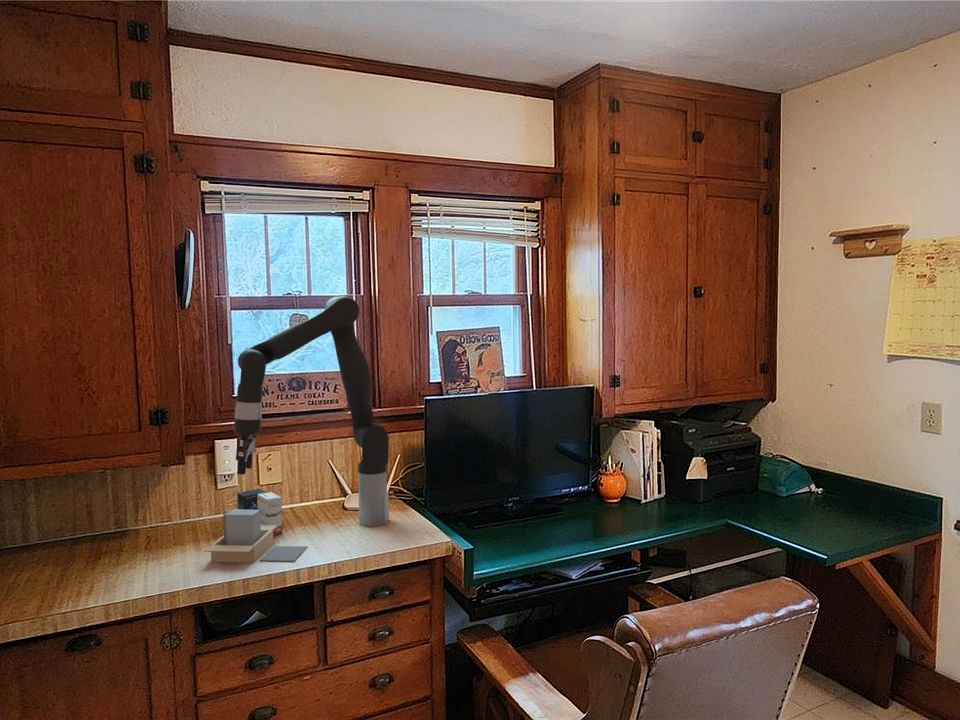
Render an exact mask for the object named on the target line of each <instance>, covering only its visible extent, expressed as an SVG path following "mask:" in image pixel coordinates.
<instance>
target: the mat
mask: <svg viewBox="0 0 960 720" xmlns="http://www.w3.org/2000/svg"><path fill="white" fill-rule="evenodd" d="M306 548H307V549H308V546H298V545H296V546H295V545H293V546H292V545H273V547H272V548H269V549H268V550H267V551H268V552H267V551H266V552H265V553H264V554H263V555H262V557H260V559H259V562H262V561H265V562H266V561H267V563H268V562H269V563H270V562H274V563H275V562H276V563H295V562H296V561H297V560H298V559H299V558H300V557H301V556H302V554H303V553H304V552H305V551H306V550H307V549H306ZM305 549H306V550H305ZM304 550H305V551H304ZM303 551H304V552H303ZM302 552H303V553H302ZM301 553H302V554H301ZM298 557H299V558H298ZM297 558H298V559H297ZM296 559H297V560H296ZM265 562H264V563H265Z"/></svg>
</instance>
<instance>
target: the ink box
mask: <svg viewBox="0 0 960 720" xmlns="http://www.w3.org/2000/svg"><path fill="white" fill-rule="evenodd" d="M257 503H258V510H260V523H261V525H278V527H276V528H275V529H274V530H273V536H274V535H275V536H276V535H281V534H283V515H282V514H283V510H282V509H283V508H282V497H281V496H279V495H277V494H275V493H274V492H267V493H262V494H258V495H257ZM280 533H281V534H280Z"/></svg>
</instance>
